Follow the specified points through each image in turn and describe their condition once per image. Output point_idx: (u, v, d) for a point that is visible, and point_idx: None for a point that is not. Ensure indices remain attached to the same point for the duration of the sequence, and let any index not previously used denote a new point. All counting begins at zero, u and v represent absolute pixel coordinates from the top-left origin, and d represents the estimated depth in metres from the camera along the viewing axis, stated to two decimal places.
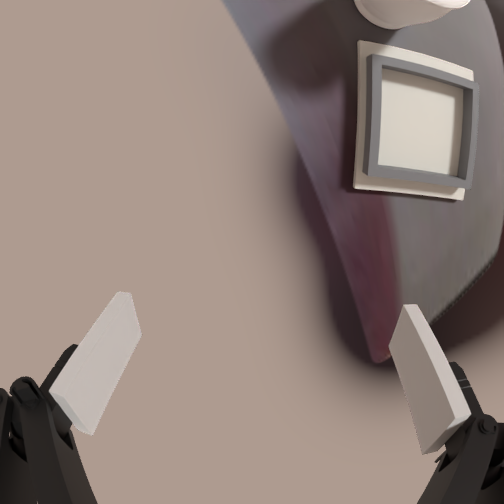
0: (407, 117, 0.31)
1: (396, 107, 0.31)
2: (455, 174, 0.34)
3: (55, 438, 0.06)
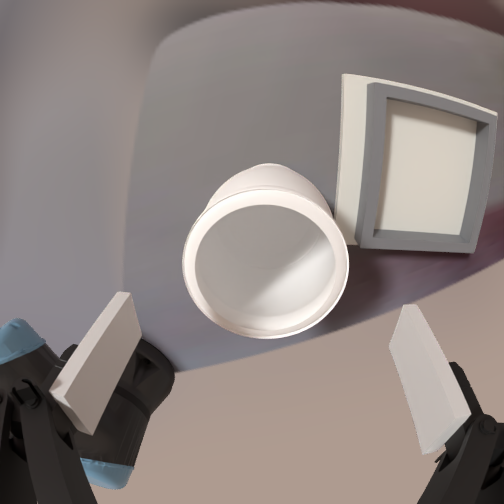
0: (422, 191, 0.28)
1: (411, 205, 0.29)
2: (475, 123, 0.23)
3: (55, 438, 0.06)
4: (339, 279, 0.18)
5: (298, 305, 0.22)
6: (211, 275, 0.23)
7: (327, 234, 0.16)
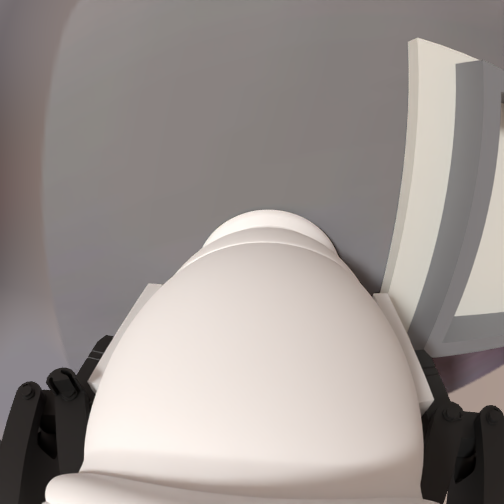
0: None
1: (495, 277, 0.15)
2: None
3: None
4: None
5: None
6: None
7: None
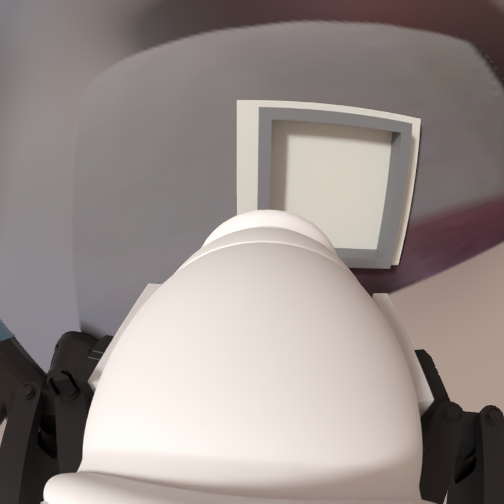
0: (325, 208, 0.32)
1: (314, 222, 0.32)
2: (390, 133, 0.27)
3: None
4: None
5: None
6: None
7: None
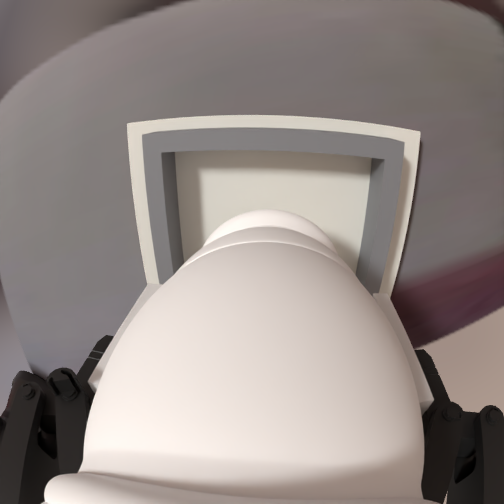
0: None
1: None
2: (369, 157, 0.18)
3: None
4: None
5: None
6: None
7: None
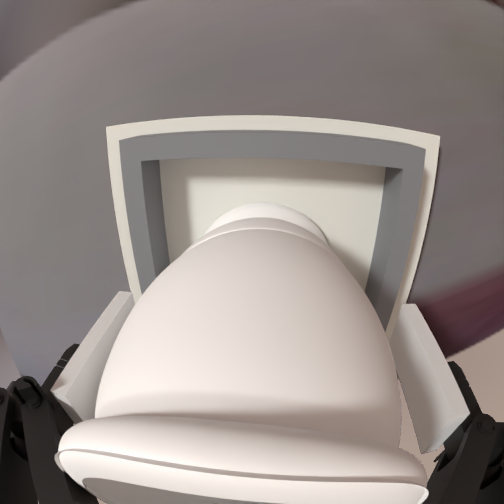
0: None
1: None
2: None
3: (56, 438, 0.06)
4: None
5: None
6: None
7: None
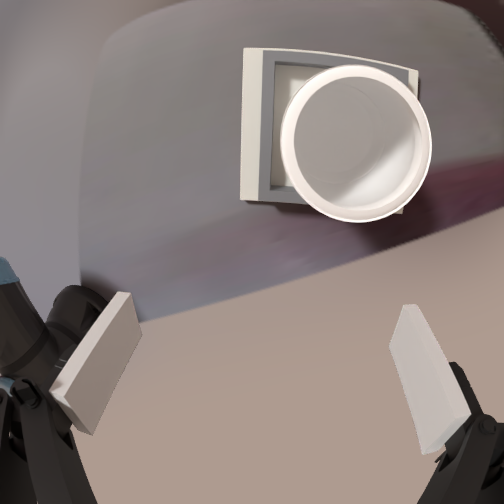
0: None
1: None
2: None
3: (55, 438, 0.06)
4: (424, 156, 0.16)
5: (378, 199, 0.21)
6: None
7: (414, 111, 0.15)
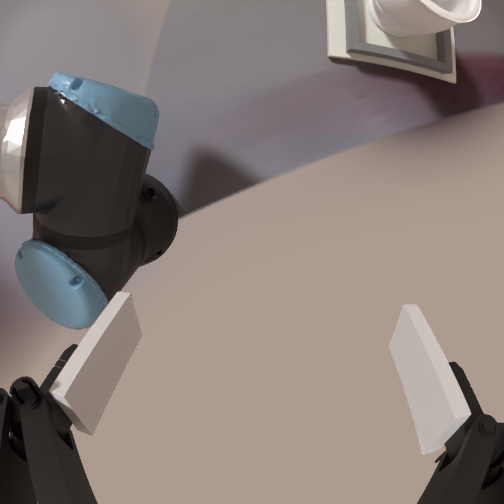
0: None
1: (388, 33, 0.28)
2: None
3: (55, 438, 0.06)
4: None
5: None
6: None
7: None
